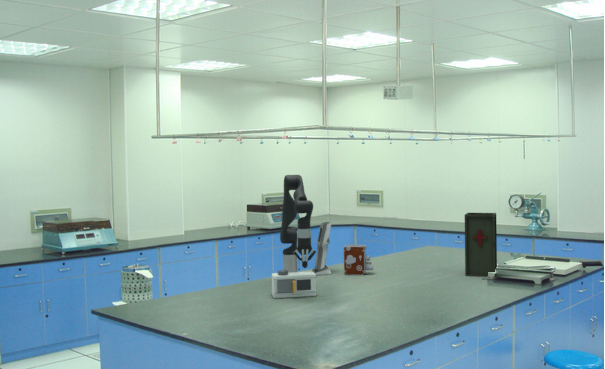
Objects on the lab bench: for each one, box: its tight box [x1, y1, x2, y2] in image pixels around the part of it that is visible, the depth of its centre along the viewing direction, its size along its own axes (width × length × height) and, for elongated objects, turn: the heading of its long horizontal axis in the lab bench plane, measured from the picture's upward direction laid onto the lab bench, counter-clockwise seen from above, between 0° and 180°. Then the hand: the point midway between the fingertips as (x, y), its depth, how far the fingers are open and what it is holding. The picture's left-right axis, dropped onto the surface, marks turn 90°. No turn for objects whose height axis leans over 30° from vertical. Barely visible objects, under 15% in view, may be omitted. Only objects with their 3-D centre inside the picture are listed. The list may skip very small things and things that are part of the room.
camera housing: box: [271, 269, 318, 299], centre depth 318 cm, size 11×24×14 cm, turn 99°
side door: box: [277, 279, 296, 293], centre depth 310 cm, size 5×10×7 cm, turn 99°
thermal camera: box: [311, 221, 332, 276], centre depth 383 cm, size 12×13×35 cm
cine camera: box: [343, 244, 374, 276], centre depth 378 cm, size 9×19×20 cm, turn 78°
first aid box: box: [464, 212, 498, 278], centre depth 370 cm, size 18×18×40 cm
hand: (304, 267), depth 310 cm, fingers closed
